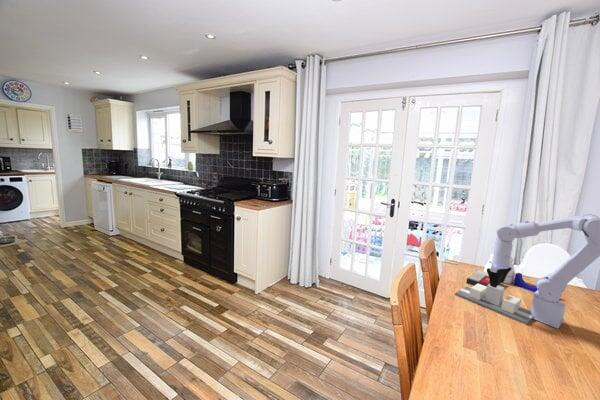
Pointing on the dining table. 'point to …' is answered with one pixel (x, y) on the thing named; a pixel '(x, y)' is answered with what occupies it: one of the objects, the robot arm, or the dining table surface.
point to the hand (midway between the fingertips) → (496, 284)
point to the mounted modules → (508, 303)
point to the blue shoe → (523, 283)
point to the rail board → (497, 307)
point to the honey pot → (509, 276)
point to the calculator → (479, 278)
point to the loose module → (494, 294)
